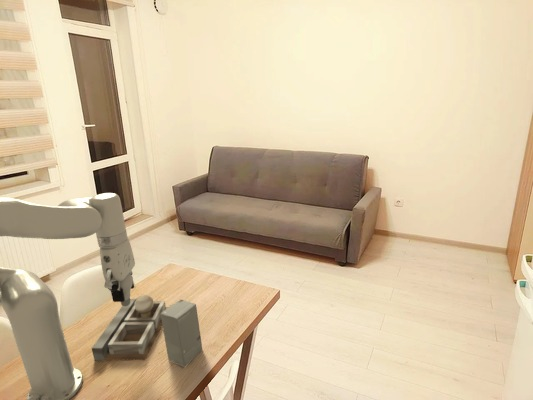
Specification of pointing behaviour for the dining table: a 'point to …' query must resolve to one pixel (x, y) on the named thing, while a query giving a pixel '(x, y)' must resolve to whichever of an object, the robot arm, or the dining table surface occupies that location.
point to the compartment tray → (131, 331)
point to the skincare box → (181, 332)
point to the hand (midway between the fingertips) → (124, 294)
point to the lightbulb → (126, 288)
